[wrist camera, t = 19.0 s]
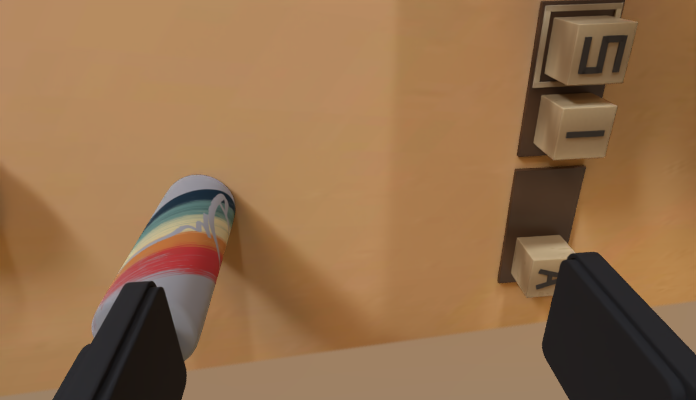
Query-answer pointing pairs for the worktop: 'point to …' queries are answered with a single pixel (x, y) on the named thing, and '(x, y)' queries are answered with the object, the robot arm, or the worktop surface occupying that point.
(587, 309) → the robot arm
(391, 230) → the worktop surface
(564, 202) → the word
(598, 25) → the tile
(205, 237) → the lotion bottle
